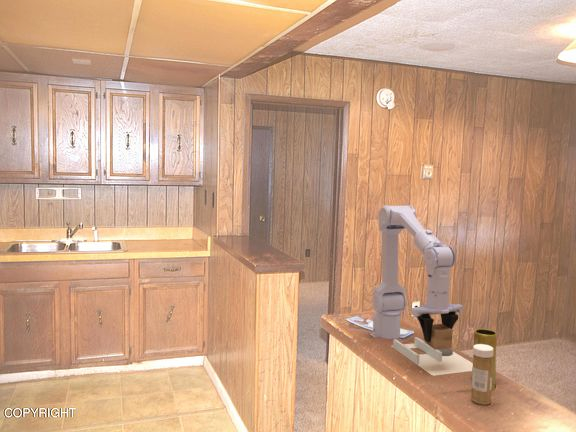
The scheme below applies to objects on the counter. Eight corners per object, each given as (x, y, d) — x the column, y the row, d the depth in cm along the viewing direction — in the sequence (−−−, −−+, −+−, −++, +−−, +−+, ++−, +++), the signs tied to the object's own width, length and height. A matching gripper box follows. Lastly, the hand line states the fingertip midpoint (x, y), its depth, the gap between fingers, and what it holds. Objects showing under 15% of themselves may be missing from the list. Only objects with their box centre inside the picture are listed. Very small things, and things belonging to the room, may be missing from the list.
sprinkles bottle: (495, 402, 121) (497, 347, 120) (483, 407, 118) (485, 351, 117) (478, 395, 125) (481, 342, 123) (466, 399, 122) (469, 345, 121)
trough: (393, 347, 153) (393, 339, 153) (416, 344, 155) (416, 337, 155) (416, 364, 140) (416, 355, 140) (441, 361, 142) (442, 352, 142)
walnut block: (424, 342, 139) (425, 325, 138) (440, 341, 140) (441, 323, 139) (435, 349, 134) (436, 331, 133) (451, 348, 135) (452, 329, 135)
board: (390, 350, 155) (390, 345, 154) (435, 345, 159) (435, 341, 159) (432, 381, 133) (432, 375, 132) (482, 374, 137) (483, 369, 137)
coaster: (427, 349, 151) (427, 348, 151) (445, 347, 153) (445, 346, 153) (438, 357, 146) (439, 355, 145) (457, 354, 147) (457, 353, 147)
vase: (465, 382, 132) (467, 329, 130) (484, 379, 134) (486, 327, 133) (482, 392, 126) (484, 337, 125) (501, 389, 128) (504, 334, 127)
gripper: (422, 296, 130) (420, 347, 132) (470, 292, 135) (468, 342, 136) (408, 289, 137) (406, 338, 139) (454, 286, 141) (452, 333, 143)
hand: (436, 339), depth 138 cm, fingers closed on walnut block, 5 cm apart
